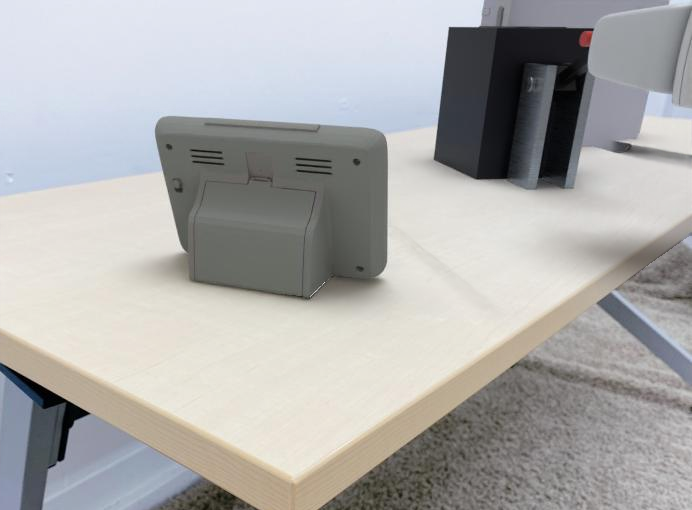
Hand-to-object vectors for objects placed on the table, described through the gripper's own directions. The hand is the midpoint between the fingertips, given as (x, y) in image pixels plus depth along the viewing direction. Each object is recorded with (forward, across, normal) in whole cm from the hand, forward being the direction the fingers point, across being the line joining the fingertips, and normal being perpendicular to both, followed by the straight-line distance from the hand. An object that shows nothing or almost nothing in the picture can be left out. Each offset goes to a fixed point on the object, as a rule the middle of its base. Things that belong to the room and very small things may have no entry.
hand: (671, 43), depth 54 cm
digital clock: (-6, +32, +15) cm, 36 cm away
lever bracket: (+15, 0, +15) cm, 21 cm away
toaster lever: (+11, 0, +3) cm, 11 cm away
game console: (+39, -15, +15) cm, 44 cm away
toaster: (+24, 0, +15) cm, 28 cm away
